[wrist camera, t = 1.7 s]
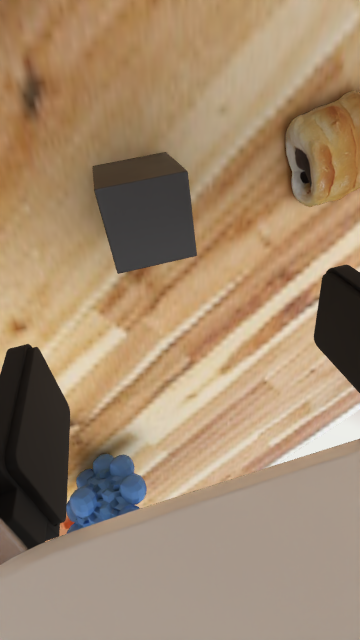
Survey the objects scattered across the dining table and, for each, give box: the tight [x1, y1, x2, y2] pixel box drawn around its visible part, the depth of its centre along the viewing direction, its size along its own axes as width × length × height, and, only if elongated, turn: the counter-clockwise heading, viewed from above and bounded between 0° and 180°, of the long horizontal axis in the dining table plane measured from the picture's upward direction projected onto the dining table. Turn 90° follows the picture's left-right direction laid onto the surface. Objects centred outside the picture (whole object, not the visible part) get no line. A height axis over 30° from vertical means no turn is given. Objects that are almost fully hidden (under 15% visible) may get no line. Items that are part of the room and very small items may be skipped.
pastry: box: [286, 91, 360, 207], centre depth 23 cm, size 9×7×4 cm
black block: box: [93, 152, 197, 274], centre depth 21 cm, size 5×5×6 cm
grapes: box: [66, 454, 146, 534], centre depth 34 cm, size 12×7×12 cm, turn 132°
